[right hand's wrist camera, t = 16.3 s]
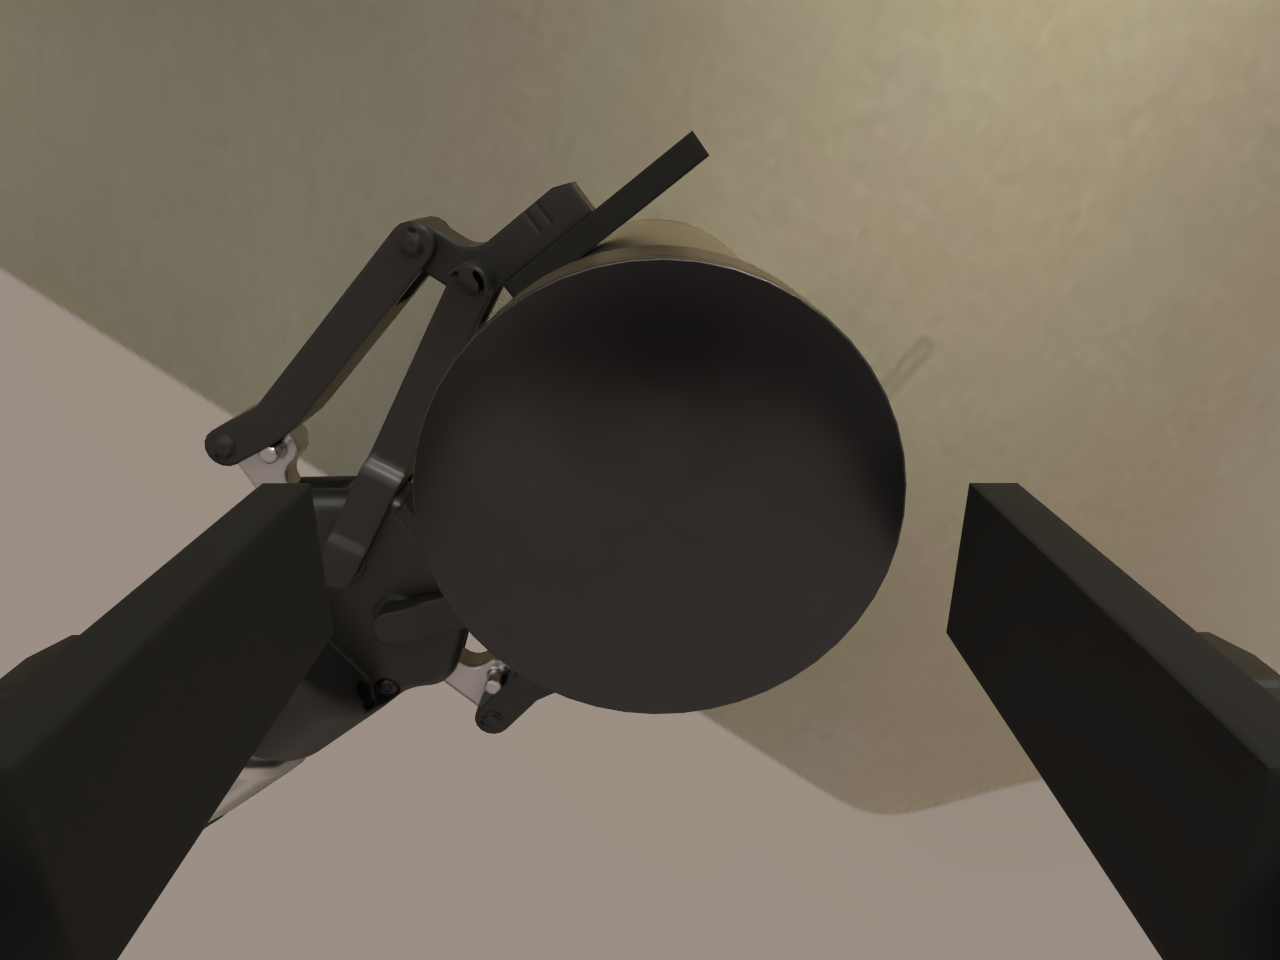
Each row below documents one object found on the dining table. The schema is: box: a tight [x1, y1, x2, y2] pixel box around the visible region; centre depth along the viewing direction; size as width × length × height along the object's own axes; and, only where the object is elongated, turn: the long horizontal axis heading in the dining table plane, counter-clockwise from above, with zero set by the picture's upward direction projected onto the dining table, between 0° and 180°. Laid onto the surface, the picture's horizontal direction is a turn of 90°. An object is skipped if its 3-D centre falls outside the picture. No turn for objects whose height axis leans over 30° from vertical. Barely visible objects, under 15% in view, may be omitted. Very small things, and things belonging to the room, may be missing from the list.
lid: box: [413, 245, 906, 714], centre depth 16 cm, size 9×9×2 cm
